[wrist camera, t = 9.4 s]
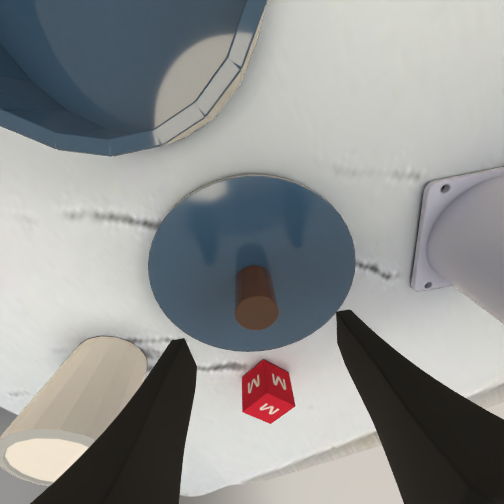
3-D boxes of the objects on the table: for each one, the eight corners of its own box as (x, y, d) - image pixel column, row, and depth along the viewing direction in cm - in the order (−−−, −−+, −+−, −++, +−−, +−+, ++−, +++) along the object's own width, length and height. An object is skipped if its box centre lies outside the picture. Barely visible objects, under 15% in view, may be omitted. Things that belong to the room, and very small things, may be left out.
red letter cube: (241, 377, 22) (242, 412, 20) (263, 359, 21) (267, 392, 19) (267, 389, 23) (270, 424, 21) (288, 372, 22) (295, 406, 20)
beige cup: (47, 349, 20) (-42, 454, 13) (118, 317, 18) (58, 417, 12) (106, 396, 23) (57, 499, 16) (171, 371, 22) (144, 472, 15)
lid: (348, 149, 14) (390, 161, 10) (349, 324, 20) (375, 372, 16) (118, 197, 14) (75, 225, 11) (188, 353, 21) (177, 405, 17)
